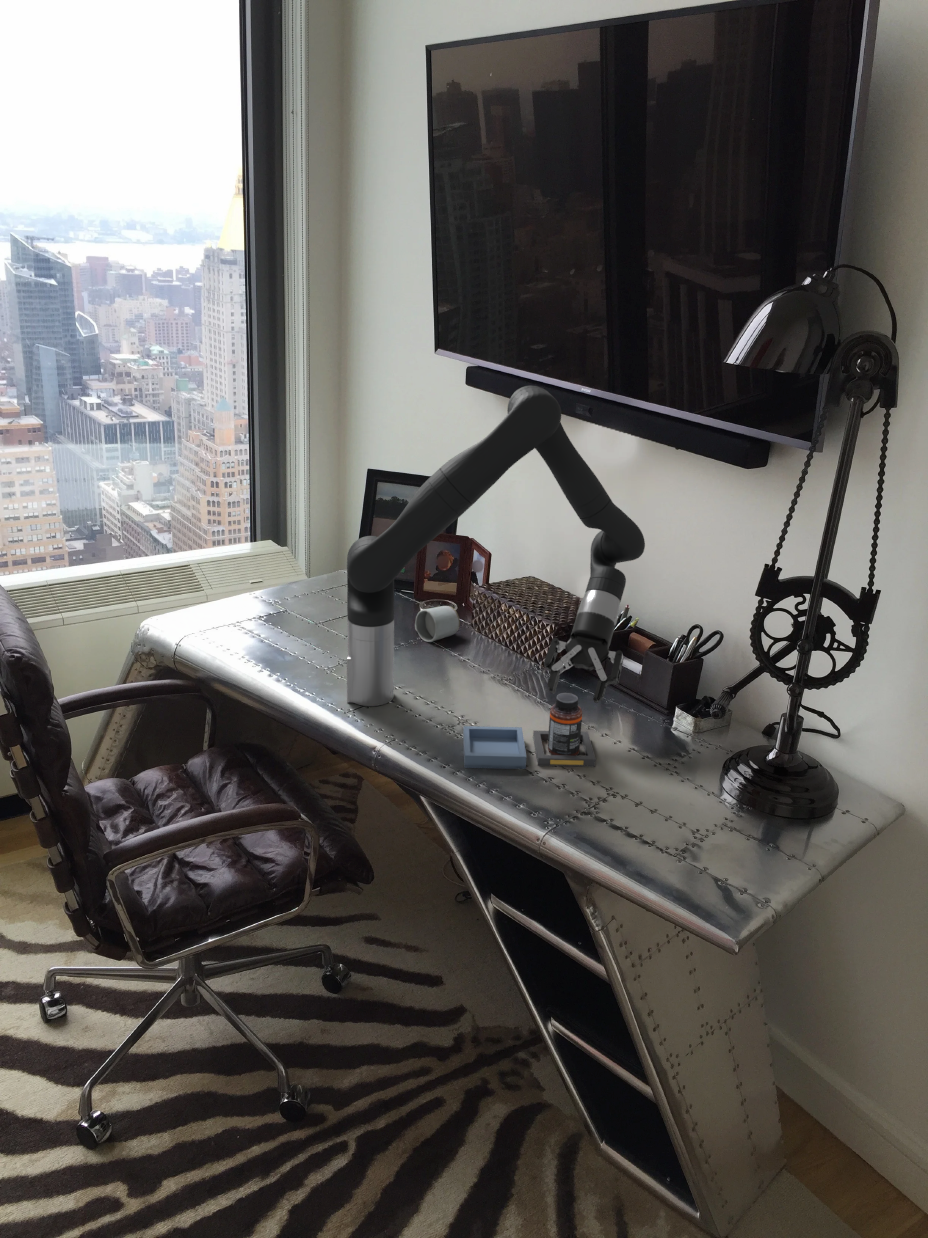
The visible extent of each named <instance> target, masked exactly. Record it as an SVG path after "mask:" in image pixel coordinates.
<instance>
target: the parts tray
mask: <svg viewBox="0 0 928 1238" xmlns="http://www.w3.org/2000/svg"><path fill="white" fill-rule="evenodd" d="M462 730H463V732H462V734H463V735H462V739H463V741H462V742H463V743H462V744H463V766H464V768H467V769H505V770H506V769H511V770H513V769H515V770H526V768H527V753H526V752H527V751H526V744H525V739H524V733H523V732H524V731H523V727H517V726H480V725H479V726H476V725H473V726H470V725H469V726H468V725H466V726H465V725H463V729H462Z"/></svg>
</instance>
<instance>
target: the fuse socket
mask: <svg viewBox="0 0 928 1238" xmlns="http://www.w3.org/2000/svg"><path fill="white" fill-rule="evenodd" d="M548 734H549V730H533V731H532V740H533V747H534V751H535V757H536V764H537V766H542V767H543V766H544V767H545V766H548V767H549V766H552V767H554V766H555V767H591V768H592V767H595V768H596V759H597V758H596V756H595V752H594V749H593V745H592V742H591V738H590V734H589V731H581V736H580V743H581V744H582V748H583V751H584V755H576V756H569V755H552V754H545V752H544V751H545V750H544V747H543V742H548Z"/></svg>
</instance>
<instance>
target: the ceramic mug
mask: <svg viewBox="0 0 928 1238" xmlns="http://www.w3.org/2000/svg"><path fill="white" fill-rule="evenodd" d="M459 628H460V617H459V613H458V612H457V611H456V608H455V609H454V607H452V606H451V605H450V606H449V605H442V606H441V605H440V606H435V607H430V608H425V609H421V610H420V611H418V613H417V614H416V616H415V623H414V629H415V631H416V633H417V634H418V636H419V638H420V639H422V640H423V642H426V643H432V642H435V641H439V640H441V639H444V638H448V637H451V636H453V635H455V634H456V633H457V632H458V630H459Z"/></svg>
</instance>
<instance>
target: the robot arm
mask: <svg viewBox="0 0 928 1238" xmlns="http://www.w3.org/2000/svg"><path fill="white" fill-rule="evenodd" d="M561 420H562V409H561V405H560V404H559V401H558V400H557V399H556V398H555V397H554V396H553V395H552V394H551V393H550V392H549V391H548V390H547V389H544V388H543V387H541V386H537V385H525V386H522V387H520V388H518V389H516V390H515V391H514V392H513V394H512V395H511V396H510V398H509V401H508V403H507V415H506V416H505V417H504V418H503V419H502V420H501V421H500V422H499V424H498V425H497V426H496V427H495V428H494V429H493V430H492V431H491V432H490V433H488V435H486V436H484V438H482V439H481V440H480V441H478V442H477V443H475V444H473V445H472V446H470V447H468V448H467V449H465V450H463V451H461V452H459V453H458V454H457V455H454V456H453V457H451V458H450V459H449V460H447V462H445V463H444V464H442V466H440V467H439V468H438V469H437V470H436V471H435V472H434V473H433V474H432V475H431V476H430V477H428V479H427V480H425V482H423V483H422V485H421V486H420V487H419V488H418V490H416V492H415V493H414V495H413V496H412V497H411V499H410V500H409V502H408V503H407V505H405V508H404V509H403V510H402V511H401V513H400V515H398V517H397V518H396V520H395V521H394V522H393V523H392V524H391V525H390V526H389V527H388V528H387V529H386V530H385V531H383V532H382V533H381V534H379V535H378V536H376V535H367V536H366V535H365V536H363V537H360V538H358V539H357V540H355V541H354V542H353V543H352V545H351V546H350V548H349V549H348V552H347V555H346V572H347V573H346V574H347V575H346V576H347V581H346V582H347V583H346V585H347V587H346V588H347V592H346V593H347V595H346V597H347V599H346V601H347V602H346V606H347V607H346V610H347V611H346V612H347V614H346V615H347V616H346V617H347V658H346V702H347V703H354V704H356V705H358V706H359V705H360V706H363V707H378V706H382V705H386V704H389V702H391V701H392V700H393V699H394V696H395V695H394V692H395V691H394V690H395V689H394V688H395V686H394V685H395V684H394V683H395V682H394V680H395V679H394V678H395V677H394V674H395V668H394V667H395V579H396V577H397V576H398V575H399V574H400V573H401V572H402V571H403V570H404V568H405V567H406V566H407V565H408V564H409V562H410V561H412V559H413V558H414V557H415V556H417V554H418V553H419V552H420V551H421V550H422V549H423V548H425V546H427V545H428V544H429V543H431V542H432V541H433V540H434V539H435V538H437V537H438V536H439V535H440V534H441V533H442V532H444V531H445V530H446V529H448V527H450V525H452V524H454V522H455V521H456V520H457V519H458V518H460V517H461V516H462V515H463V514H465V513H466V511H468V509H470V508H471V507H472V506H473V505H474V504H475V503H476V502H477V501H478V500H479V499H480V498H481V497H482V496H483V495H484V494H485V493H487V491H489V489H491V488H492V487H493V486H494V484H495V483H497V482H498V481H499V479H501V477H503V476H504V474H505V473H506V472H507V471H508V470H509V469H510V468H511V467H513V466H514V465H515V464H516V463H517V462H518V461H520V460H521V459H522V458H524V457H526V455H528V454H530V453H531V452H532V451H534V450H536V451H537V453H538V454H539V456H540V457H541V458H542V459H543V461H544V462H545V464H546V465H547V467H548V468H549V470H550V472H551V473H552V476H553V477H554V479H555V480H556V482H557V484H558V486H559V487H560V489H561V491H562V493H563V495H564V496H565V499H566V500H567V501H568V503H569V504H570V506H571V508H572V509H573V511H574V512H575V513H576V515H577V517H578V519H579V520H580V521H581V523H582V524H583V525H584V526H585V527H587V528H588V529H596V530H599V531H598V532H597V534H596V535H595V536H594V538H593V540H592V541H591V545H590V564H589V565H590V567H589V568H590V569H589V571H590V576H589V579H588V582H587V585H586V589H585V593H584V595H583V597H582V598H581V601H580V604H579V606H578V610H577V614H576V617H575V621H574V624H573V628H572V630H571V633H570V637H569V638H568V640H567V642H566V641H562V640H559V638H558V637H554V638H552V640H551V642H550V644H549V648H548V650H547V652H546V655H545V658H544V659H543V660H544V661H543V666H544V668H545V669H546V670H547V672H548V671H549V672H550V674H549V678H548V682H547V688H548V690H549V693H551V694H553V695H554V694H556V692H557V688H558V684H559V681H560V678H561V676H560V675H561V674H562V673H563V672H565V671H566V670H570V669H571V668H572V667H574V668H577V669H584V670H587V671H592V670H595V671H596V674H597V675H598V678H599V680H598V681H597V684H596V687H595V691H594V693H593V694H594V695H593V699H592V701H593V703H596V704H599V703H600V701H601V702H602V701H603V700H604V696H605V693H606V690H607V687H608V686H609V685H612V684H613V685H614V686H615V685H618V684H619V683H620V678H621V673H622V667H623V664H624V663H623V662H624V655H623V651H622V650H620V649H619V650H616V651H611V650H610V648H609V647H610V645H611V643H612V638H613V634H614V631H615V627H616V625H617V623H618V618H619V613H620V605H621V602H622V598H623V595H624V592H625V588H626V583H627V579H626V575H625V573H624V572H623V571H622V570H620V569H619V568H615V567H616V565H617V564H620V563H627V562H631V561H634V560H637V559H639V558H640V557H642V555H643V553H644V552H645V547H646V543H645V542H646V541H645V537H644V535H643V532H642V530H641V529H640V527H639V526H638V524H636V522H635V521H634V520H632V519H631V517H629V516H628V515H627V514H626V513H625V512H624V511H623V510H622V509H620V508H619V507H618V506H617V505H616V504H615V503H614V502H613V500H612V498H611V497H610V496H609V494H608V492H607V491H606V489H605V487H604V486H603V485H602V482H600V480H599V478H598V477H597V475H596V474H595V473H594V471H593V470H592V469H591V468H590V466H589V465H588V464H587V462H586V461H585V460H584V458H583V456H582V455H581V454H580V453H579V451H578V450H577V448H576V447H575V445H574V443H572V441H571V439H570V438H569V436H568V434H567V433H566V430H565V429H564V427H563V425H562V422H561ZM564 649H565V651H566V654H565V655H563V656H561V658H560V659H559V660H558V661H557V662H555V661H556V660H557V659H556V658H557V656H558V653H561V652H562V651H563V650H564ZM609 658H610V661H611V664H612V668H611V673H610V674H609V675H606V672H605V670H604V668H603V665H602V664H603V663H604V662H606V661H607V660H608V659H609Z"/></svg>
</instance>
